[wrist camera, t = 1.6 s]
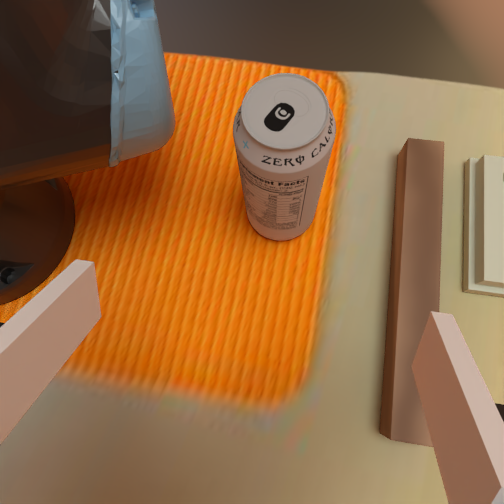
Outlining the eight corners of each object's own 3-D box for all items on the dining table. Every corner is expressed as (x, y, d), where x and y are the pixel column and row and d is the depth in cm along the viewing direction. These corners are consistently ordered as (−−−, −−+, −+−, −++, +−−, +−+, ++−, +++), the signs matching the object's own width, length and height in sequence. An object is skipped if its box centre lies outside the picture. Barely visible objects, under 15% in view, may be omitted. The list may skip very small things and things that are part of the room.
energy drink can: (327, 206, 36) (362, 99, 22) (287, 257, 35) (296, 179, 21) (274, 170, 37) (274, 46, 23) (233, 218, 36) (207, 120, 22)
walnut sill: (379, 433, 31) (390, 439, 28) (397, 155, 37) (408, 138, 34) (419, 440, 31) (435, 447, 28) (431, 159, 37) (444, 141, 34)
